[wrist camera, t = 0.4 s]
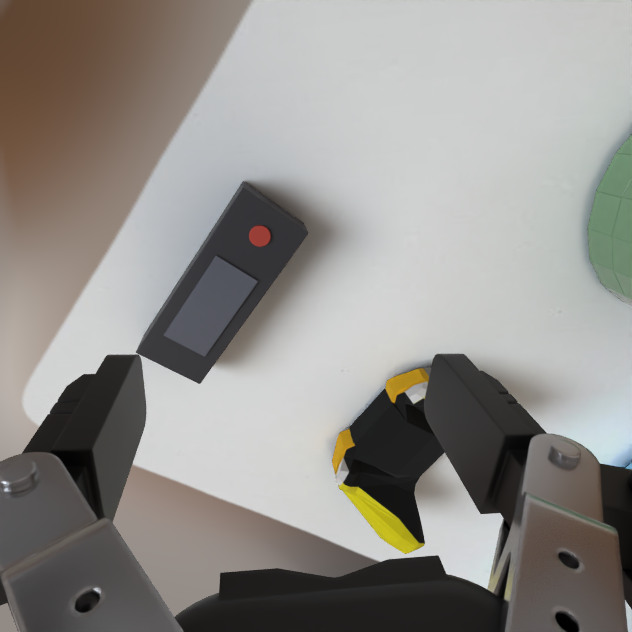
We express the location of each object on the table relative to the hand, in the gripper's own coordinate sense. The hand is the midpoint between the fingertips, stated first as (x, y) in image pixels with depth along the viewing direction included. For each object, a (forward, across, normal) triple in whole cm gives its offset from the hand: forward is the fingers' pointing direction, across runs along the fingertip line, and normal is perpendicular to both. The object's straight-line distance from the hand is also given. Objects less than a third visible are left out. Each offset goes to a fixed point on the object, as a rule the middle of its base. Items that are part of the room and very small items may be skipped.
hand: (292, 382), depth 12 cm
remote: (+17, +3, +3) cm, 17 cm away
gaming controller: (+17, -12, +16) cm, 26 cm away
